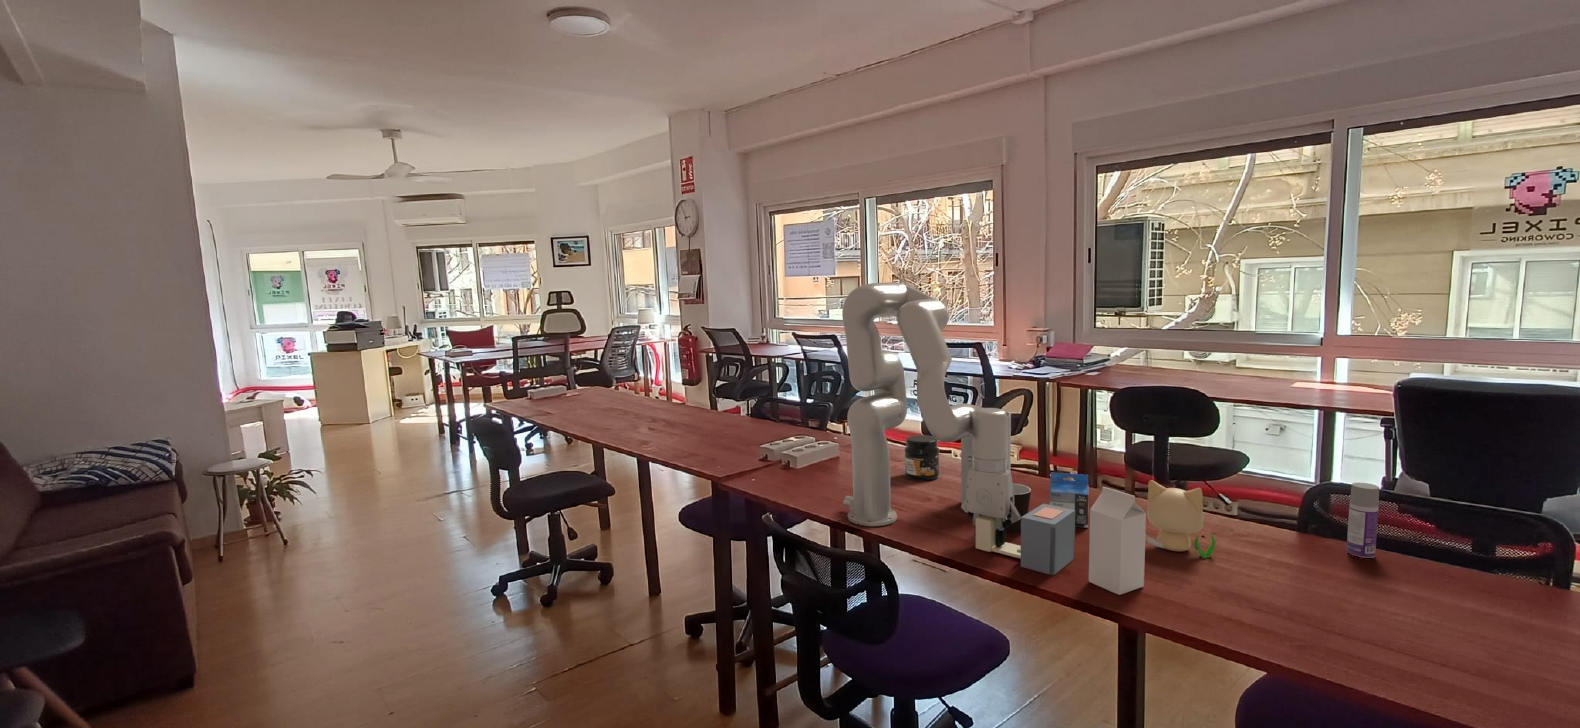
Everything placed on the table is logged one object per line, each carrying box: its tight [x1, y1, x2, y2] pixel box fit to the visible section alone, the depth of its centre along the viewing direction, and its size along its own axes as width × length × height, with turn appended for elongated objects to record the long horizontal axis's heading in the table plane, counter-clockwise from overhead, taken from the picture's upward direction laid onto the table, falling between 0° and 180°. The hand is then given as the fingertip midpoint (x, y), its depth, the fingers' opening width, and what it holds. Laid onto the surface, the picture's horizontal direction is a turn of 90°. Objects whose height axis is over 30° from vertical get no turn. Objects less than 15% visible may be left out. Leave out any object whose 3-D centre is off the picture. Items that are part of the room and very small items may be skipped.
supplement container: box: [904, 434, 940, 481], centre depth 213 cm, size 10×10×12 cm
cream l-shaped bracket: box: [975, 515, 1021, 560], centre depth 152 cm, size 17×6×7 cm, turn 47°
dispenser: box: [1017, 503, 1076, 577], centre depth 148 cm, size 8×11×11 cm
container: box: [1346, 482, 1380, 559], centre depth 146 cm, size 5×5×15 cm
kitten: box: [1145, 479, 1217, 559], centre depth 152 cm, size 15×10×15 cm
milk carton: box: [1088, 486, 1147, 596], centre depth 136 cm, size 7×7×19 cm
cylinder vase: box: [960, 410, 1012, 505], centre depth 184 cm, size 12×12×25 cm
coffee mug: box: [1006, 483, 1032, 535], centre depth 169 cm, size 12×9×10 cm
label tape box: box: [1048, 472, 1090, 529], centre depth 169 cm, size 9×4×12 cm, turn 68°
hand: (990, 542), depth 157 cm, fingers closed on cream l-shaped bracket, 4 cm apart
